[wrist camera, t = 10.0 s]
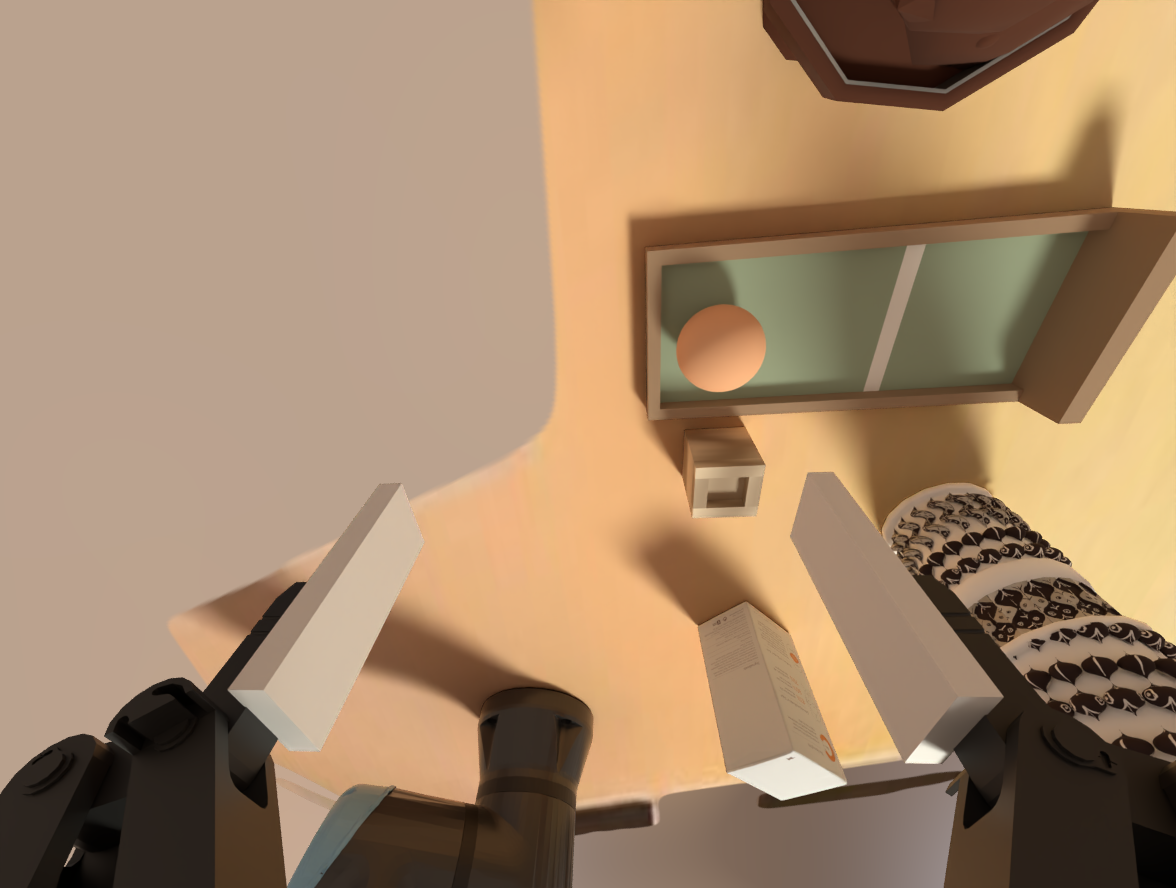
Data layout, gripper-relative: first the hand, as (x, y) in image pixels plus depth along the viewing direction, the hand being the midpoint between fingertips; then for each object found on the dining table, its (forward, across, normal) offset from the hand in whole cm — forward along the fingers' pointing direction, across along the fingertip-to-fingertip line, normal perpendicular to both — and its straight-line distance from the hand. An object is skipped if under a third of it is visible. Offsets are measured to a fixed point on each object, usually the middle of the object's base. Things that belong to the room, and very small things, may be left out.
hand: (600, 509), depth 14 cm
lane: (+16, -15, 0) cm, 22 cm away
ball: (+13, -7, 0) cm, 15 cm away
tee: (+16, -8, +9) cm, 20 cm away
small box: (+17, -13, +32) cm, 39 cm away
